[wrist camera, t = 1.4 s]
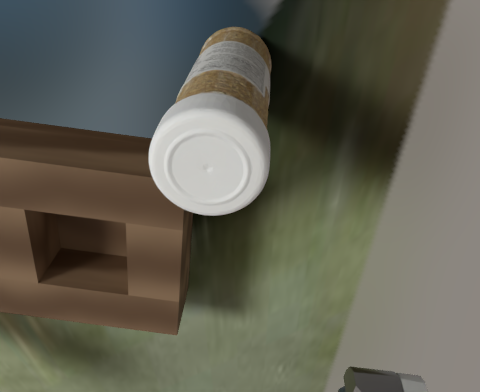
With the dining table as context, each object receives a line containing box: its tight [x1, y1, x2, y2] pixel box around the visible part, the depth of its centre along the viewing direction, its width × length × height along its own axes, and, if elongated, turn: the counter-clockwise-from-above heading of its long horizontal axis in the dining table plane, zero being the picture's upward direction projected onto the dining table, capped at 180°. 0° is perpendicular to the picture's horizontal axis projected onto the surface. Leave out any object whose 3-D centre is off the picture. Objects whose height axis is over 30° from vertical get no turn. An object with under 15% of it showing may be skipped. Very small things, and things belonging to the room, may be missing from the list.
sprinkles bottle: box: [149, 27, 272, 216], centre depth 22 cm, size 5×5×13 cm
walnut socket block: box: [0, 118, 193, 335], centre depth 32 cm, size 14×14×5 cm
